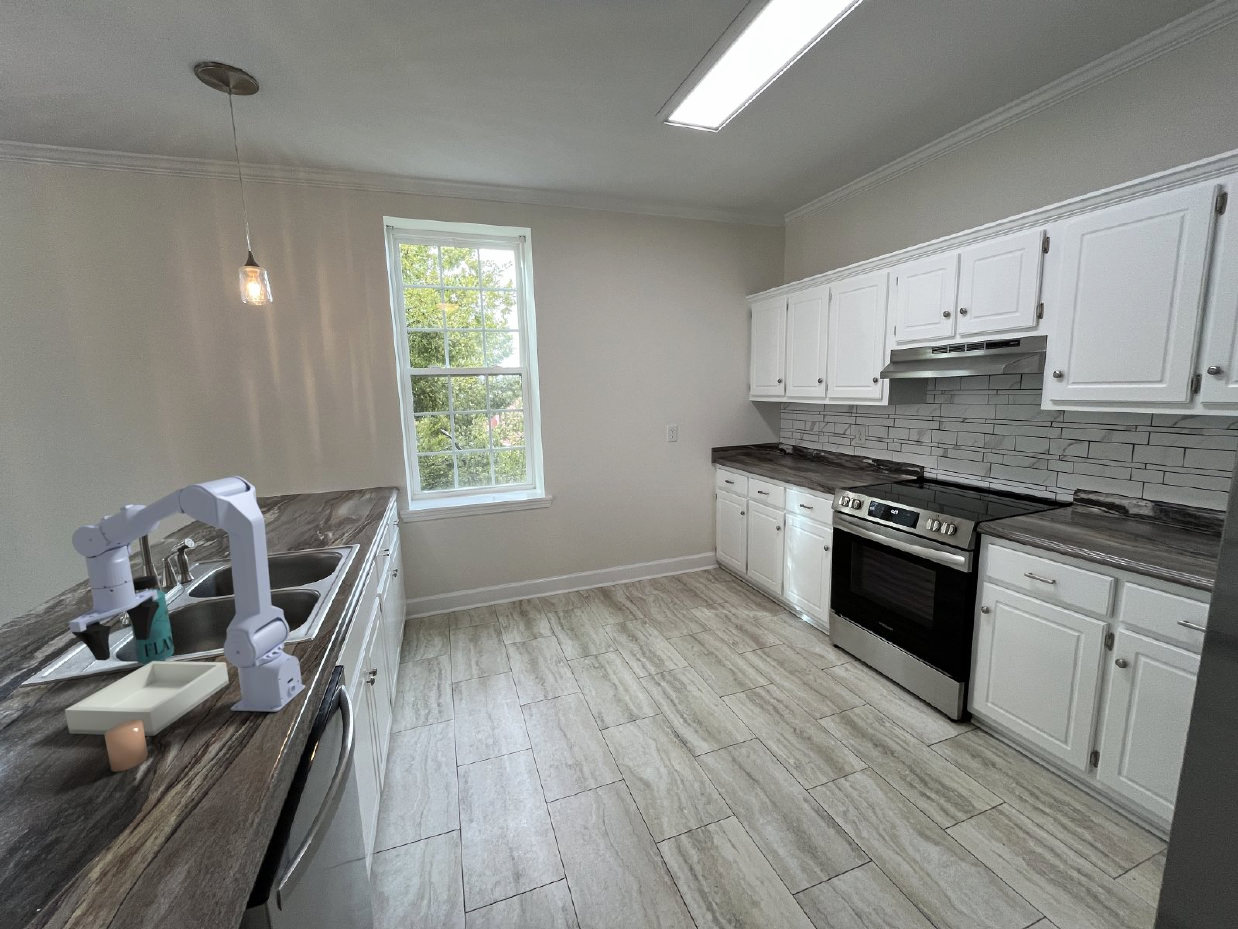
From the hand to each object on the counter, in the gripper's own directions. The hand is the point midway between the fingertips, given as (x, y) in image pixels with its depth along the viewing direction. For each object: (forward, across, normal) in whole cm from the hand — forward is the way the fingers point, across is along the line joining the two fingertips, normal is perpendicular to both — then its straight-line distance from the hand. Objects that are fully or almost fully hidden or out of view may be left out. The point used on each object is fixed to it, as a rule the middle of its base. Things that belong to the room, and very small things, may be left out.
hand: (123, 649), depth 99 cm
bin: (+10, +3, +8) cm, 13 cm away
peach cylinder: (+10, +17, +18) cm, 27 cm away
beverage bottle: (+10, -12, -7) cm, 17 cm away
